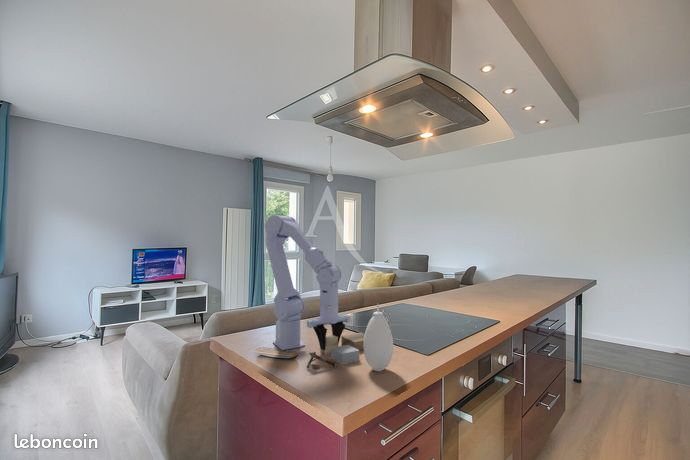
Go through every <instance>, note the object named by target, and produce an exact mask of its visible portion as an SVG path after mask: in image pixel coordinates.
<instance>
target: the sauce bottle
mask: <svg viewBox="0 0 690 460" xmlns="http://www.w3.org/2000/svg"><path fill="white" fill-rule="evenodd" d="M376 306H377V307H376V311H374V312H373V314H372V315H373V316H372V317H371V318H370V319H369V321H368V323H367V326H366V329H365V332H364V334H365V336H364V350H363V354H364V355H363V356H364V357H365V361H366V362H367V365H368V366H369V367H371V369H372V370H373V371H375V372H382V371H384V370H386V368H388V367H389V365H390V363H391V361H392V359H393V355H394V354H393V353H394V339H393V333H392V330H391V327H390V325H389V323H388V321H387V319H386V318H385V317H384V312H381V311H380V307H379V303H377V305H376Z"/></svg>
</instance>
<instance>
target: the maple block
mask: <svg viewBox="0 0 690 460" xmlns="http://www.w3.org/2000/svg"><path fill="white" fill-rule="evenodd" d="M325 342H326V346H325V350H322V349H321V348H320V352H321V353H322V354H324V355H325V356H331V348H334V347H339V344H338V337H337V336H335V335H333V334H332V333H329V334H327V333H326V340H325Z"/></svg>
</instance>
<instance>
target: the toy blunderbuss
mask: <svg viewBox="0 0 690 460" xmlns="http://www.w3.org/2000/svg"><path fill="white" fill-rule="evenodd" d="M309 356H310V359H309V361H308V363H307V365H306V368H307V369H309V368H310V366H311V367H312V368H313V369H316V370H319V369H320V368H321V367H320V366H319V364H317V363H312V362H314V361H316V360H318V361H319V362H322V363H324V364H327V365H329V366H331V367H332V368H333V369H336V366H337V363H338V362H337V361H335V360H330V359H326V358H325V357H324V356H322V355H318V354H317V353H316V351H312V352H309Z"/></svg>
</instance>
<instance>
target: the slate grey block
mask: <svg viewBox="0 0 690 460" xmlns="http://www.w3.org/2000/svg"><path fill="white" fill-rule="evenodd" d="M330 356H331V359H332V361H334V362H335V361H337V363H338V364H339V365H341V366H343V365H347V364H351V363H355V362H359V361H360V351H359V350H358V349H356V348H354V347H352V346H350V345H344V346H342V345H340V346H339V345H338V347H334V348H331V355H330Z"/></svg>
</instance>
